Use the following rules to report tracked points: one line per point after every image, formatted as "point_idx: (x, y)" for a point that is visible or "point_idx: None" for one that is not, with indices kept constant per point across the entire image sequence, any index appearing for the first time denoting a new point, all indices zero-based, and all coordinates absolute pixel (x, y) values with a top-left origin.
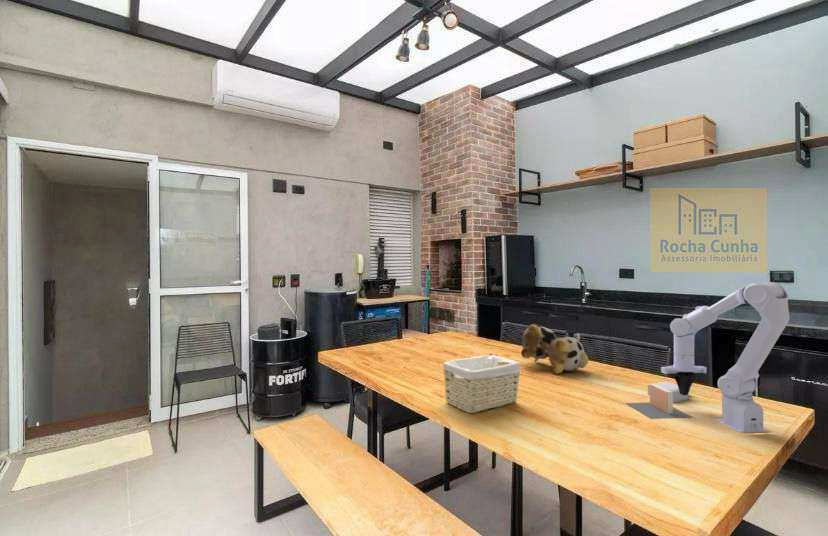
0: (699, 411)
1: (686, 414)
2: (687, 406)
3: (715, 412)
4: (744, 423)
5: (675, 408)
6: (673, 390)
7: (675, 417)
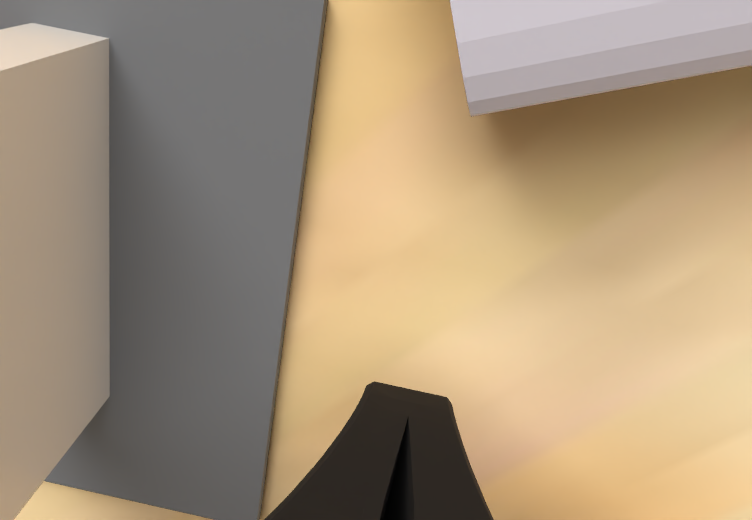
0: (549, 406)
1: (250, 459)
2: (586, 228)
3: (715, 484)
4: None
5: (281, 286)
6: (560, 63)
7: (60, 475)
